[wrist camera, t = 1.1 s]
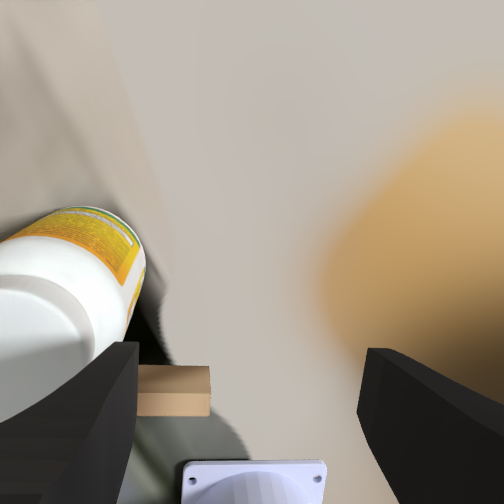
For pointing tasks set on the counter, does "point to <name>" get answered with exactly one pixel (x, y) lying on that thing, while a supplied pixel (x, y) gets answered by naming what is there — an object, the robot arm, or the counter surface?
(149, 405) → the rail
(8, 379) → the supplement bottle
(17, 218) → the counter surface
